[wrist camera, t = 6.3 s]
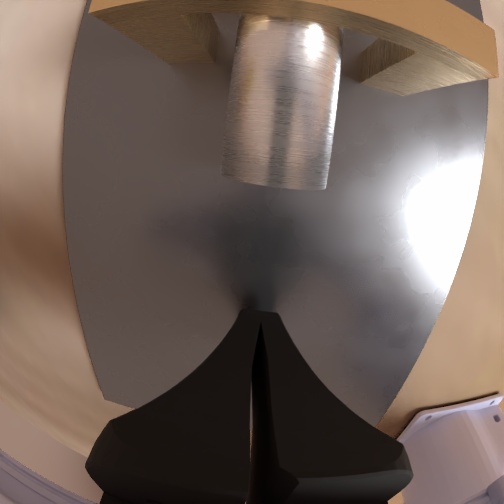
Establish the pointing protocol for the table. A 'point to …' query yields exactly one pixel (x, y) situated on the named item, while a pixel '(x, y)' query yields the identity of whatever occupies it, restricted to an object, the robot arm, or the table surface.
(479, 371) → the table surface
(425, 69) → the plate
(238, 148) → the tube
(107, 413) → the table surface
